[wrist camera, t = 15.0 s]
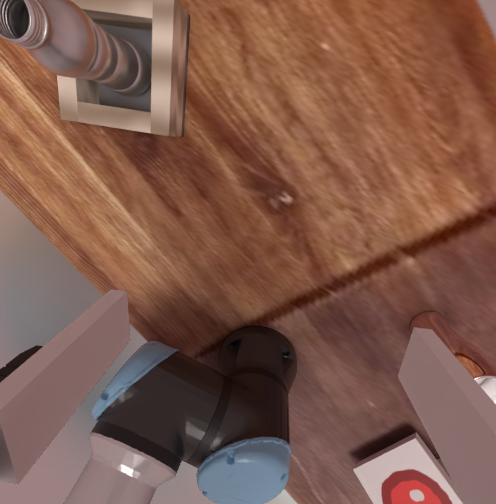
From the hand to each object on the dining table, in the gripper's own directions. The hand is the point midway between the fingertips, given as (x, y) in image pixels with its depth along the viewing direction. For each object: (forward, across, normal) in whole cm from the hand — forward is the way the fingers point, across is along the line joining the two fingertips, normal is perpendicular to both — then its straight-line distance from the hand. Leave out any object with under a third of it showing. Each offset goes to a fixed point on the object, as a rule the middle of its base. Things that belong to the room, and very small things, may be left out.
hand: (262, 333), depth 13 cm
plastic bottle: (+33, +21, -16) cm, 43 cm away
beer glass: (+35, -29, +19) cm, 49 cm away
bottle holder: (+34, +22, -16) cm, 44 cm away
